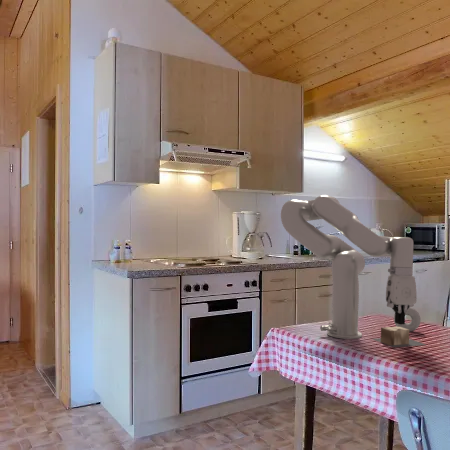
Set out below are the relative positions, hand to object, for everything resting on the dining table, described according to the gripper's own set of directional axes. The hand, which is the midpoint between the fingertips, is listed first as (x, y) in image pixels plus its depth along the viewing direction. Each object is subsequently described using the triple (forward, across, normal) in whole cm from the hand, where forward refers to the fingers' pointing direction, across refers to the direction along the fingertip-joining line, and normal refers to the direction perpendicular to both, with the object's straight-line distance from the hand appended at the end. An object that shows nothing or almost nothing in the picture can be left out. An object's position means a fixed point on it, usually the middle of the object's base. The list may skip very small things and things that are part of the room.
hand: (399, 323), depth 160 cm
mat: (+7, 0, +1) cm, 7 cm away
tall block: (+4, +2, 0) cm, 5 cm away
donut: (+7, +16, +15) cm, 23 cm away
